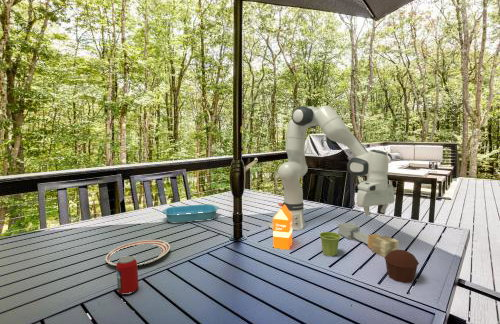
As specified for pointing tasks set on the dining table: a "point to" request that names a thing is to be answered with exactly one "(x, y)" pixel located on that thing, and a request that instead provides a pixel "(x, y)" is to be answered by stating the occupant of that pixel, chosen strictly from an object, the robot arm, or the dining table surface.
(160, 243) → the beige round ring
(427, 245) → the dining table surface
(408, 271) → the muffin
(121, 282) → the beverage can
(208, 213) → the casserole dish
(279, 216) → the orange juice
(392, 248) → the socket block
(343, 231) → the outer sleeve
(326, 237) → the plant pot
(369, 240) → the tube
